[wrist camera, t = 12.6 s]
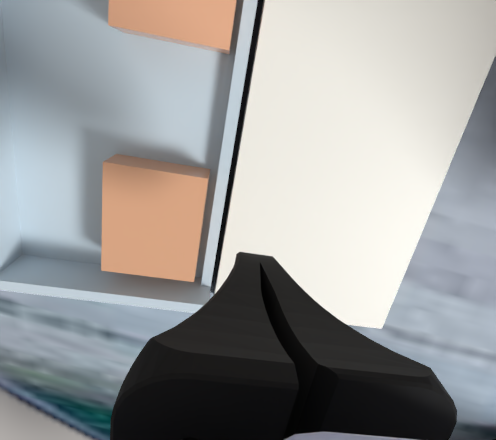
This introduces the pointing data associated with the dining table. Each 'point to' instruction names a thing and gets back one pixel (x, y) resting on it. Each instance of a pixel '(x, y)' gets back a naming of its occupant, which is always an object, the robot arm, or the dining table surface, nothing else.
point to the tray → (104, 142)
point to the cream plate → (352, 140)
